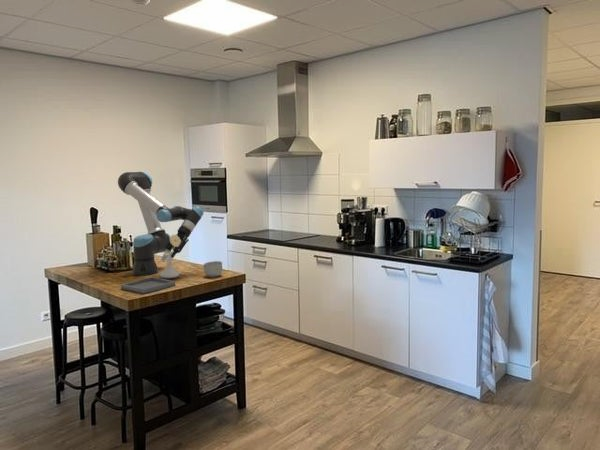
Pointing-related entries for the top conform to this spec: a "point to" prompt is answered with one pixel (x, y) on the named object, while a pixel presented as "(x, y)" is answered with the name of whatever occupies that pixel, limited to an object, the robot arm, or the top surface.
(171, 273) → the flower in vase
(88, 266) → the top surface
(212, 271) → the teacup
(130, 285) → the charcoal tray
